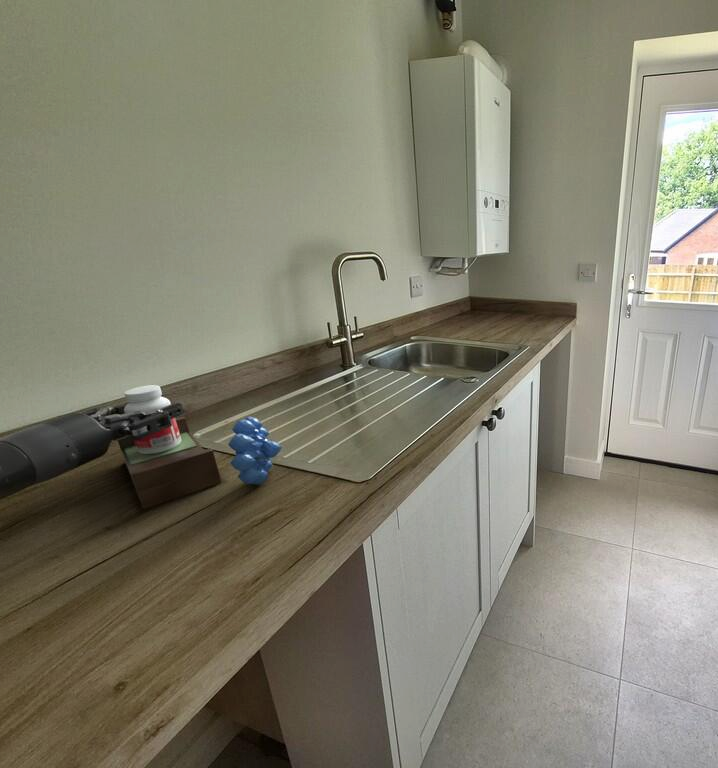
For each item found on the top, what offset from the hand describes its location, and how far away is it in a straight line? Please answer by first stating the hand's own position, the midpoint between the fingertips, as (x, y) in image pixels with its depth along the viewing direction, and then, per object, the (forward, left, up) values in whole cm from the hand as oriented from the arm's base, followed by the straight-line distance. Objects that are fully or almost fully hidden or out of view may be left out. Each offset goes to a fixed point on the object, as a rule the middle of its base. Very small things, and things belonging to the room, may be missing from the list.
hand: (159, 406), depth 73 cm
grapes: (+8, -22, -11) cm, 26 cm away
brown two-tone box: (-2, -6, -10) cm, 12 cm away
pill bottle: (-2, -1, -7) cm, 8 cm away
